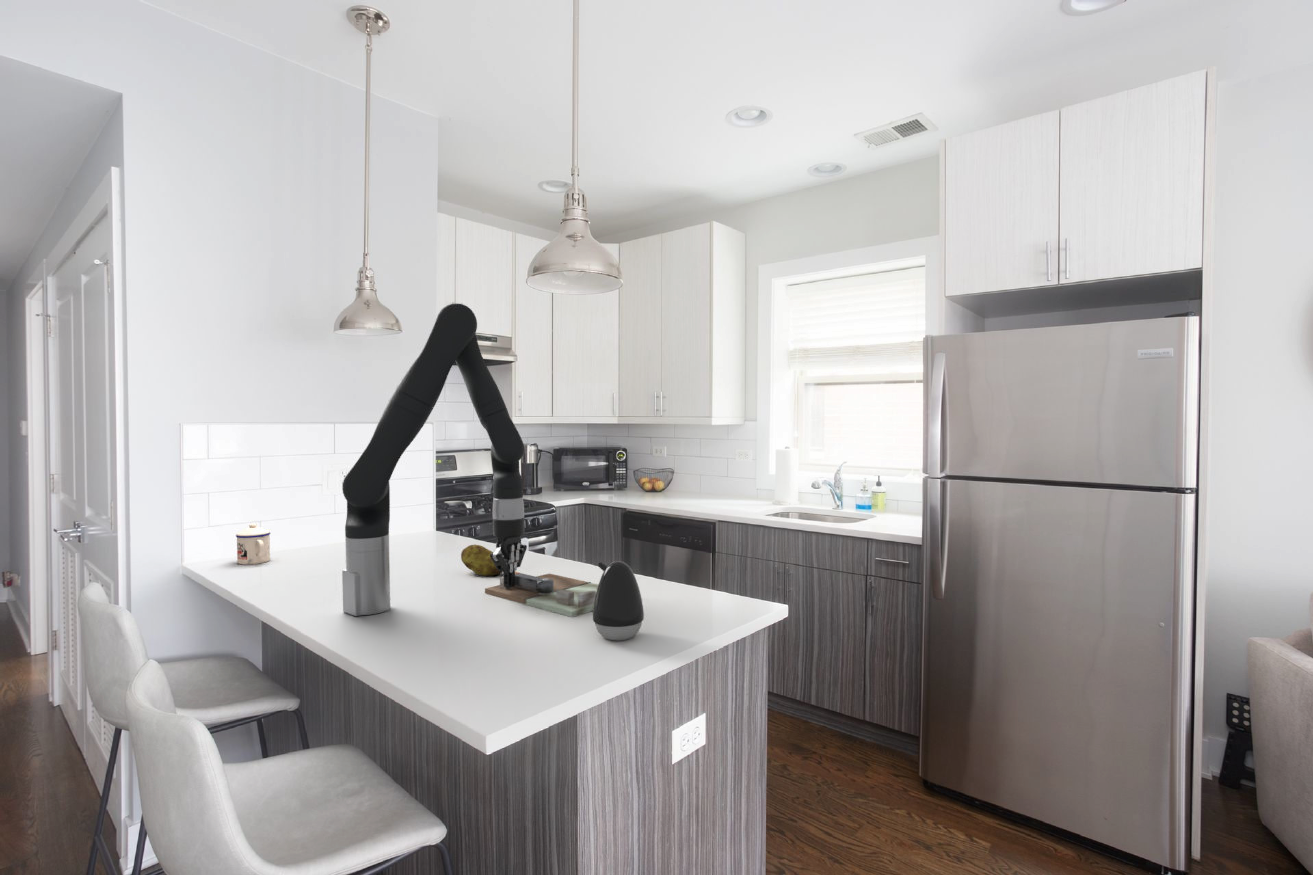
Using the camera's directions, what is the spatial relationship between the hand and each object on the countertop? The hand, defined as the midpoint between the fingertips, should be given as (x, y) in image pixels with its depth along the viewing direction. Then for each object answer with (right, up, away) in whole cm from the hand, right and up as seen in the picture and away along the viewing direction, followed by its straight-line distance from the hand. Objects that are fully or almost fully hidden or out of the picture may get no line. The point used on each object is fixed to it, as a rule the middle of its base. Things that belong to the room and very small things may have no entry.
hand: (509, 586), depth 168 cm
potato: (-13, -2, +25) cm, 29 cm away
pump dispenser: (+28, -4, -30) cm, 41 cm away
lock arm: (+5, -1, +2) cm, 5 cm away
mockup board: (+12, -3, +2) cm, 12 cm away
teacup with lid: (-87, -2, +42) cm, 96 cm away
